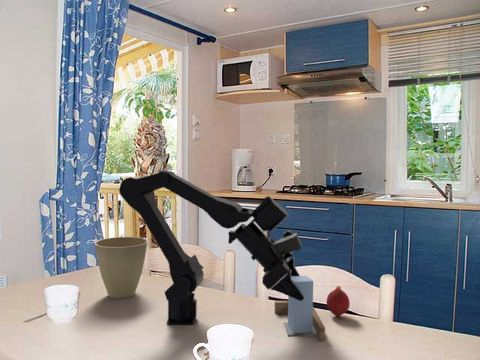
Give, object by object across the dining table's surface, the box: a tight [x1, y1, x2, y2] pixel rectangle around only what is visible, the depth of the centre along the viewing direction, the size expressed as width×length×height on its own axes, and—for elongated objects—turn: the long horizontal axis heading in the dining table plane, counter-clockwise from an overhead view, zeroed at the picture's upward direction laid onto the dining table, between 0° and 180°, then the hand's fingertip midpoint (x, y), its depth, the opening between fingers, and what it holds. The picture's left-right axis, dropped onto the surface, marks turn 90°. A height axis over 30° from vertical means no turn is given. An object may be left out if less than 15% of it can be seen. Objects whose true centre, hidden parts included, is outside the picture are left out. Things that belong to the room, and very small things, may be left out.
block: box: [287, 275, 314, 333], centre depth 95 cm, size 4×4×12 cm
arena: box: [274, 300, 326, 342], centre depth 98 cm, size 9×17×3 cm, turn 1°
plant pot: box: [94, 236, 148, 299], centre depth 119 cm, size 15×15×16 cm
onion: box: [326, 285, 351, 318], centre depth 104 cm, size 6×6×8 cm
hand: (303, 292), depth 95 cm, fingers open, 9 cm apart
